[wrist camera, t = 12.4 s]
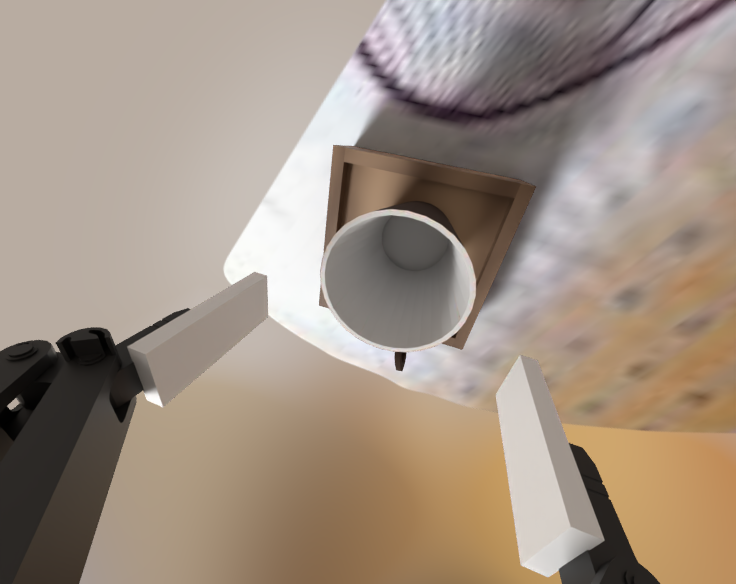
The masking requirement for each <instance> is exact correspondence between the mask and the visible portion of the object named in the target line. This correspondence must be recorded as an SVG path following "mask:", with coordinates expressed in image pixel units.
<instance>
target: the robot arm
mask: <svg viewBox="0 0 736 584" xmlns="http://www.w3.org/2000/svg"><path fill="white" fill-rule="evenodd" d="M267 317H268V296H267V276H266V275H263V274H259V273H256V272H254V273H252V274H250V275H249V276H247V277H245V278H244V279H242V280H240V281H238V282H237V283H235V284H233V285H232V286H230V287H228V288H227V289H225V290H223V291H221V292H220V293H218V294H216V295H215V296H213V297H211V298H210V299H208V300H206V301H204V302H203V303H201V304H199V305H198V306H196V307H194V308H193V309H189V308H187V309H184V310H181V311H178V312H174V313H172V314H171V315H169V316H167V317H165V318H163V319H162V321H158V322H156V323H155V324H153V326H149V327H148V328H146V329H144V330H142V331H140V332H139V333H137V334H135V335H133V336H132V337H130V338H128V339H126V340H124V341H123V342H121V343H119V344H117V345H115V344H114V341H113V339H112V337H111V334H110V332H109V331H108V330H107V329H103V328H86V329H81V330H77V331H74V332H71V333H69V334H67V335H65V336H63V337H62V338H60V339H59V340H58V341H57V342H56V344H57V346H58V348H59V350H60V352H55V350H54V348H53V346H52V345H51V343H49V342H48V341H43V340H34V341H27V342H22V343H18V344H16V345H13V346H10V347H8V348H6V349H4V350H2V351H0V584H79V582H80V578H81V576H82V573H83V569H84V566H85V563H86V560H87V556H88V553H89V550H90V547H91V544H92V541H93V538H94V535H95V531H96V528H97V525H98V522H99V519H100V516H101V513H102V509H103V506H104V503H105V500H106V497H107V494H108V490H109V487H110V484H111V481H112V478H113V475H114V472H115V468H116V465H117V462H118V459H119V456H120V453H121V449H122V446H123V443H124V440H125V437H126V434H127V431H128V427H129V424H130V421H131V418H132V415H133V412H134V408H135V405H136V395H137V394H139V393H140V392H141V391H142V390H143V391H144V393H145V396H146V399H147V400H148V401H150V402H152V403H155V404H157V405H159V406H161V407H164V406H165V405H166V404H168V403H169V402H170V401H171V400H172V399H173V398H175V397H176V396H177V395H178V394H179V393H180V392H182V391H183V390H184V389H185V388H186V387H187V386H188V385H190V384H191V383H192V382H193V381H194V380H195V379H197V378H198V377H199V376H200V375H201V374H202V373H204V372H205V371H206V370H207V369H208V368H209V367H210V366H212V365H213V364H214V363H215V362H216V361H217V360H219V359H220V358H221V357H222V356H223V355H224V354H226V353H227V352H228V351H229V350H230V349H231V348H232V347H233V346H235V345H236V344H237V343H238V342H240V341H241V340H242V339H243V338H244V337H245V336H247V335H248V334H249V333H250V332H251V331H252V330H253V329H254V328H256V327H257V326H258V325H259V324H260V323H262V322H263V321H264V320H265V319H266V318H267ZM15 398H17V400H18V401H19V402H20V404H19V405H17V406H16V407H15V408H14V409H12V410H10V409H9V408H8V407H7V405H8V404H9V403H11V402H12V401H13V400H14V399H15ZM496 400H497V407H498V413H499V420H500V427H501V434H502V441H503V447H504V454H505V461H506V468H507V474H508V481H509V488H510V495H511V502H512V508H513V515H514V522H515V529H516V535H517V542H518V548H519V556H520V563H521V566H524V567H526V568H528V569H530V570H533V571H535V572H537V573H539V574H542V575H544V576H546V577H549V576H551V575H552V574H554V573H555V572H557V571H559V572H560V577H561V581H562V584H660V583H659V582H658V581H657V579H656V578H655V577H654V576H653V575H652V574H651V573H650V572H649V571H648V570H647V569H645V568H644V567H643V566H642V565H640V564H639V563H638V561H637V560H636V558H635V556H634V553H633V551H632V549H631V546H630V544H629V542H628V539H627V537H626V535H625V532H624V530H623V528H622V525H621V523H620V521H619V518H618V516H617V514H616V512H615V509H614V507H613V505H612V502H611V500H609V498H608V497H609V495H608V493H607V491H606V488H605V486H604V485H603V484H602V482H603V481H602V479H601V477H600V475H599V472H598V470H597V467H596V465H595V464H594V462H593V461H592V460H591V458H590V457H589V456H588V455H587V453H586V452H585V450H584V449H583V448H582V447H579V446H576V445H573V444H570V443H568V440H567V438H566V435H565V432H564V430H563V427H562V424H561V421H560V419H559V416H558V413H557V411H556V408H555V405H554V403H553V400H552V397H551V395H550V392H549V389H548V387H547V384H546V381H545V379H544V376H543V373H542V370H541V368H540V365H539V362H538V360H535V359H532V358H529V357H526V356H523V355H519V357H518V359H517V360H516V362H515V364H514V365H513V367H512V369H511V370H510V372H509V374H508V375H507V377H506V379H505V380H504V382H503V384H502V385H501V387H500V388H499V390H498V392H497V393H496Z"/></svg>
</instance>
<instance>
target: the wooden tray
mask: <svg viewBox="0 0 736 584" xmlns="http://www.w3.org/2000/svg"><path fill="white" fill-rule="evenodd" d="M535 188H536V186H534V185H531V184H529V183H527V182H524V181H522V180H518V179H513V178H509V177H504V176H499V175H494V174H489V173H484V172H479V171H474V170H469V169H464V168H459V167H454V166H449V165H444V164H439V163H435V162H430V161H425V160H420V159H415V158H410V157H405V156H400V155H395V154H390V153H385V152H380V151H375V150H370V149H365V148H360V147H356V146H341V145H333V155H332V166H331V177H330V188H329V199H328V210H327V221H326V232H325V244H324V253H325V250H326V247H327V245H328V244H329V242H330V241H331V239H332V238H333V236H334V235H335V234H336V233H337V232H338V231H339V230H340V229H341V228H342V227H343V226H344V225H345V224H346V223H348V222H350V221H351V220H353V219H355V218H356V217H358V216H361V215H363V214H366V213H369V212H372V211H376V210H379V209H383V208H387V207H391V206H394V205H398V204H402V203H405V202H411V201H422V202H426V203H430V204H432V205H434V206H436V207H437V208H439V209H440V210H441V211H442V212H443V213H444V214H445V215H446V217H447V218H448V220H449V221H450V223H451V225H452V227H453V228H454V230H455V232H456V234H457V235H458V237H459V239H460V241H461V243H462V244H463V246H464V248H465V250H466V252H467V254H468V256H469V258H470V260H471V262H472V264H473V269H474V273H475V278H476V296H475V300H474V304H473V308H472V311H471V313H470V315H469V316H468V318H467V320H466V322H465V323H464V324H463V326H462V327H461V328H460V329H459V330H458V332H457V333H455V334H454V335H453V336H452V337H450V338H449V339H448V340H446V341H445V342H443V343H442V344H445V345H449V346H452V347H455V348H458V349H463V347H464V345H465V342H466V340H467V338H468V336H469V334H470V331H471V329H472V327H473V325H474V323H475V320H476V318H477V316H478V314H479V312H480V309H481V307H482V305H483V303H484V301H485V298H486V296H487V294H488V292H489V290H490V287H491V285H492V283H493V281H494V279H495V276H496V274H497V272H498V270H499V268H500V265H501V263H502V261H503V259H504V257H505V254H506V252H507V250H508V248H509V246H510V243H511V241H512V239H513V237H514V235H515V232H516V230H517V228H518V226H519V224H520V221H521V219H522V217H523V215H524V213H525V210H526V208H527V206H528V204H529V201H530V199H531V197H532V195H533V193H534V190H535ZM319 306H322V307H326V308H329V307H328V305H327V303H326V300H325V298H324V295H323V291H322V287H321V288H320V299H319Z"/></svg>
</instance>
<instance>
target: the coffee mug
mask: <svg viewBox="0 0 736 584" xmlns="http://www.w3.org/2000/svg"><path fill="white" fill-rule="evenodd" d="M320 277H321V287H322V291H323V295H324V298H325V300H326V303H327V305H328V307H329V309H330V311H331V312H332V314H333V315H334V317H335V318H336V320H337V321H338V322H339V323H340V324H341V325H342V326H343V327H344V328H345V329H346V330H347V331H348V332H350V333H351V334H352V335H354V336H355V337H356V338H358V339H360V340H361V341H363V342H365V343H367V344H369V345H372V346H374V347H377V348H380V349H384V350H389V351H393V352H395V366H396V370H398V371H402V370H403V367H404V364H405V359H406V352H414V351H422V350H425V349H429V348H432V347H435V346H437V345H439V344H441V343H443V342H445V341H446V340H448V339H449V338H450V337H452V336H453V335H454V334H455V333H457V332H458V330H459V329H460V328H461V327H462V326H463V324H464V323H465V322H466V320H467V318H468V316H469V315H470V313H471V311H472V308H473V304H474V300H475V296H476V278H475V273H474V269H473V264H472V262H471V260H470V258H469V256H468V254H467V252H466V250H465V248H464V246H463V244H462V243H461V241H460V239H459V237H458V235H457V234H456V232H455V230H454V228H453V227H452V225H451V223H450V221H449V220H448V218H447V217H446V215H445V214H444V213H443V212H442V211H441V210H440V209H439V208H437V207H436V206H434V205H432V204H430V203H426V202H422V201H411V202H405V203H402V204H398V205H394V206H391V207H387V208H383V209H379V210H376V211H372V212H369V213H366V214H363V215H361V216H358V217H356V218H355V219H353V220H351V221H350V222H348V223H346V224H345V225H344V226H343V227H342V228H341V229H340V230H339V231H338V232H337V233H336V234H335V235H334V236H333V238H332V239H331V241H330V242H329V244H328V245H327V247H326V250H325V253H324V255H323V258H322V263H321V270H320Z"/></svg>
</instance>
